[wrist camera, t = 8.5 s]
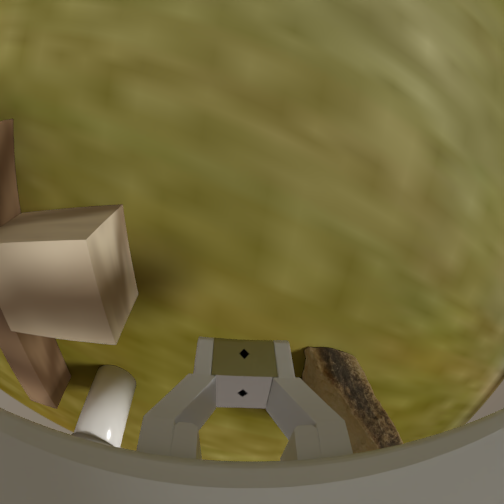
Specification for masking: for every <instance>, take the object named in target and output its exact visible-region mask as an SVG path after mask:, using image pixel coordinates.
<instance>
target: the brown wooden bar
mask: <svg viewBox="0 0 504 504" xmlns="http://www.w3.org/2000/svg"><path fill="white" fill-rule="evenodd" d="M19 214H21V211H20V204H19V197H18V190H17V181H16V171H15V158H14V137H13V119H9V120H4V121H0V227H1V226H3V225H4V224H6V223H7V222H9V221H10V220H12V219H13V218H15V217H16V216H18V215H19ZM0 348H1V350H2V351H3V353H4V355H5V357H6V359H7V361H8V363H9V365H10V366H11V368H12V370H13V372H14V373H15V375H16V377H17V379H18V380H19V382H20V384H21V385H22V387H23V388H24V390H25V392H26V393H27V395H28V396H29V398H30V399H31V400H32V401H35V402H37V403H40V404H43V405H46V406H50V407H53V408H56V409H57V407H58V405H59V403H60V400H61V398H62V396H63V394H64V391H65V389H66V387H67V385H68V382H69V380H70V378H71V375H70V373H69V370H68V368H67V366H66V364H65V361H64V359H63V357H62V354H61V352H60V349H59V347H58V345H57V342H56V339H55V338H51V337H44V336H38V335H32V334H26V333H20V332H15V331H11V329H10V327H9V325H8V323H7V321H6V319H5V317H4V314H3V312H2V310H1V308H0Z"/></svg>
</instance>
